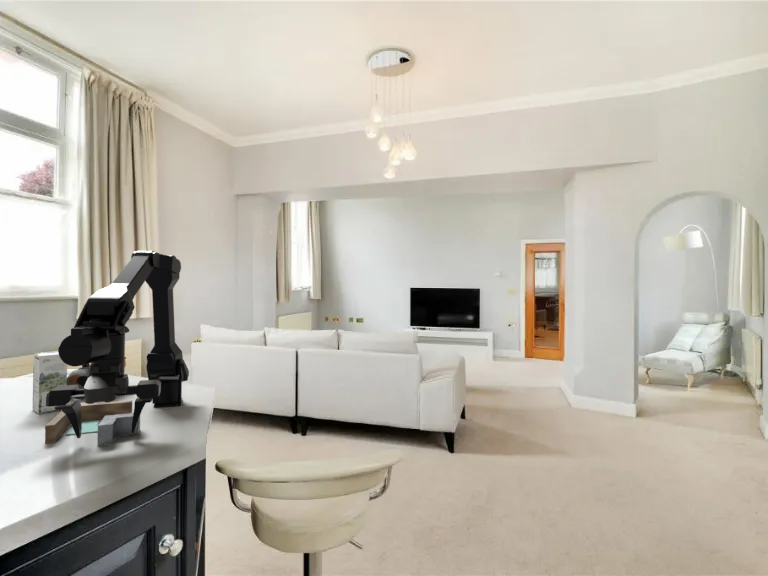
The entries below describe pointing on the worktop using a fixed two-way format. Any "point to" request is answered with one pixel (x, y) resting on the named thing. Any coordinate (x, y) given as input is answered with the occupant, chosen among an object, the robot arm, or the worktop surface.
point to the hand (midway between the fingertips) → (106, 434)
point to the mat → (87, 427)
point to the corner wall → (85, 417)
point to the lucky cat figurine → (80, 376)
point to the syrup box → (47, 378)
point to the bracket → (116, 428)
